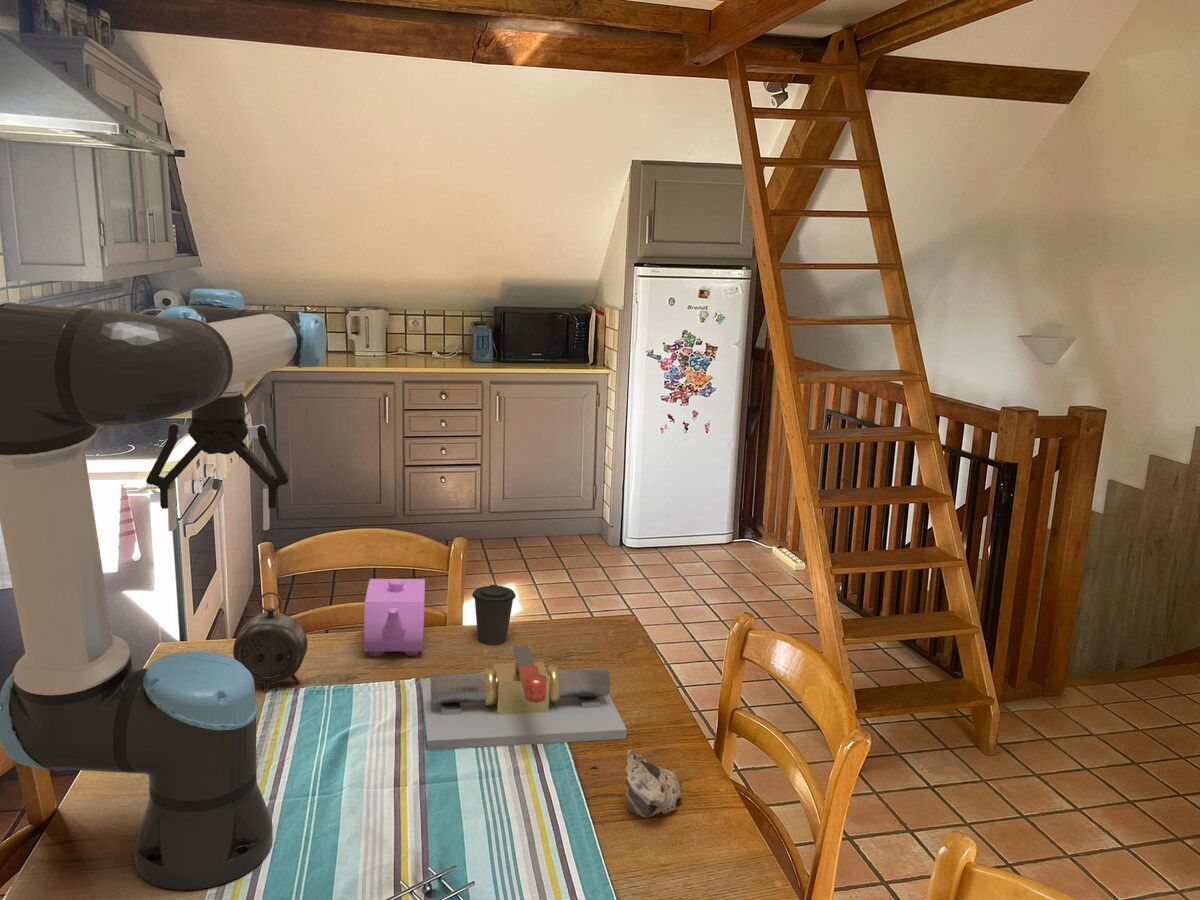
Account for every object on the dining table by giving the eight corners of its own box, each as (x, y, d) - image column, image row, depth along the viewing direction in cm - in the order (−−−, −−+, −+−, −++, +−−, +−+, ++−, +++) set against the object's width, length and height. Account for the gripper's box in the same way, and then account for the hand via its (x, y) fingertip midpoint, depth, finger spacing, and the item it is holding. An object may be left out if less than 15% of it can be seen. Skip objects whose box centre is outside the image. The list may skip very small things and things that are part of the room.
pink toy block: (369, 627, 181) (370, 564, 179) (423, 627, 183) (425, 565, 180) (361, 674, 162) (362, 604, 159) (421, 673, 164) (423, 604, 161)
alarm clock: (307, 679, 159) (308, 587, 155) (301, 694, 153) (301, 598, 150) (239, 678, 157) (238, 585, 154) (230, 693, 152) (229, 597, 149)
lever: (510, 665, 152) (511, 637, 151) (529, 664, 153) (530, 636, 152) (525, 714, 136) (527, 683, 135) (546, 713, 137) (548, 682, 136)
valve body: (610, 708, 152) (612, 673, 151) (431, 717, 145) (432, 681, 144) (601, 690, 158) (603, 656, 157) (429, 698, 152) (430, 663, 150)
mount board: (626, 738, 146) (626, 729, 146) (427, 750, 139) (427, 740, 139) (597, 680, 165) (597, 672, 165) (420, 688, 158) (421, 679, 158)
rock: (623, 766, 135) (605, 752, 127) (671, 750, 135) (657, 735, 126) (640, 829, 131) (623, 819, 122) (690, 813, 130) (676, 802, 122)
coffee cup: (497, 627, 185) (500, 578, 183) (522, 642, 179) (524, 591, 177) (462, 636, 180) (463, 586, 178) (486, 651, 174) (488, 599, 172)
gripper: (305, 391, 151) (305, 520, 155) (133, 386, 144) (137, 522, 149) (303, 398, 144) (303, 533, 148) (122, 394, 137) (127, 536, 141)
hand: (220, 528), depth 148 cm, fingers open, 13 cm apart
